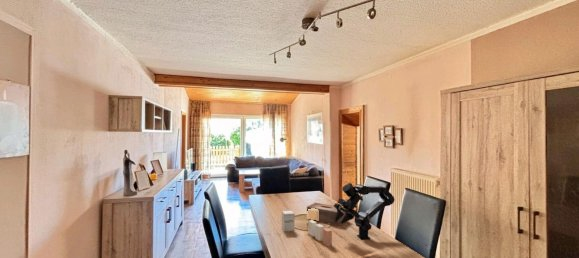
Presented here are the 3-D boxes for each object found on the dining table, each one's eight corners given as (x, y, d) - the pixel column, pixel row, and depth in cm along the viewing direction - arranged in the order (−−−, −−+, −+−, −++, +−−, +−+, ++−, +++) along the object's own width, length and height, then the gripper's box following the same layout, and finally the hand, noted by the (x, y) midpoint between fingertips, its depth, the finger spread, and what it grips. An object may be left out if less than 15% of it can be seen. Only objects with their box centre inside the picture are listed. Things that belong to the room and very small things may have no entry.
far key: (312, 233, 173) (312, 220, 173) (316, 235, 168) (316, 222, 169) (308, 233, 171) (308, 220, 172) (312, 236, 167) (312, 223, 167)
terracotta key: (326, 242, 159) (326, 227, 159) (331, 245, 154) (331, 230, 154) (322, 243, 157) (322, 228, 157) (327, 246, 153) (327, 231, 153)
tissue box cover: (306, 219, 204) (306, 206, 204) (315, 214, 216) (315, 202, 216) (338, 226, 190) (338, 212, 190) (345, 220, 202) (345, 207, 202)
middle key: (319, 237, 166) (319, 223, 166) (323, 240, 161) (323, 226, 162) (315, 238, 164) (315, 224, 165) (319, 241, 160) (319, 227, 160)
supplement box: (283, 233, 175) (283, 213, 175) (281, 229, 182) (281, 210, 183) (294, 232, 177) (294, 213, 177) (291, 228, 184) (292, 210, 184)
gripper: (336, 190, 171) (321, 209, 165) (356, 196, 154) (340, 218, 149) (345, 201, 174) (331, 220, 169) (366, 208, 158) (351, 230, 153)
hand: (338, 222), depth 160 cm, fingers open, 5 cm apart
